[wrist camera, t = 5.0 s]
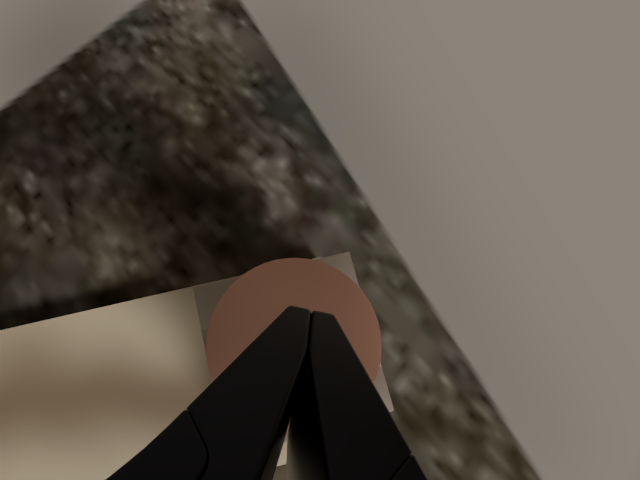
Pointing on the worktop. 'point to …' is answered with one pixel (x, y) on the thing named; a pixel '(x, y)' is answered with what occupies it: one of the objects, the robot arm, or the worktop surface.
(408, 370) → the worktop surface
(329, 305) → the terracotta key
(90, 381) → the stand
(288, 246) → the worktop surface
